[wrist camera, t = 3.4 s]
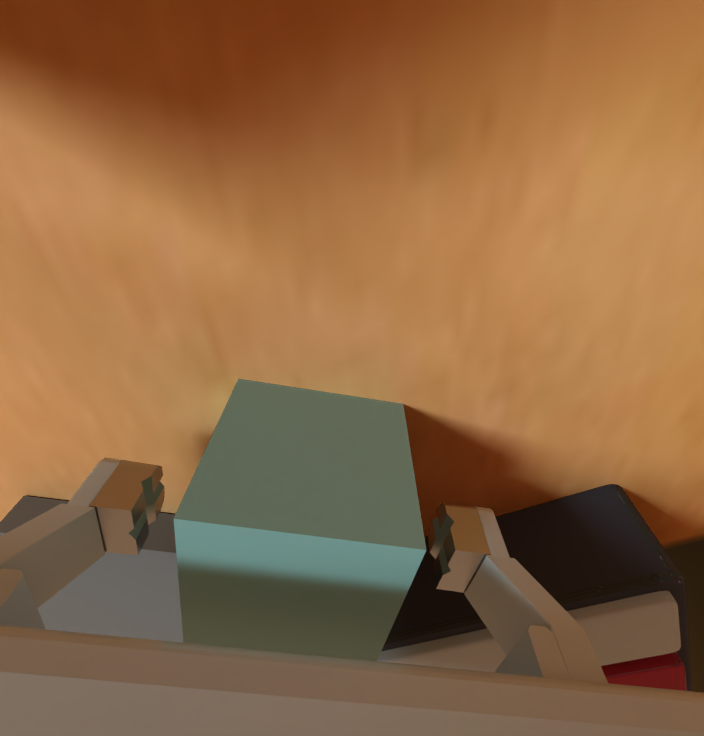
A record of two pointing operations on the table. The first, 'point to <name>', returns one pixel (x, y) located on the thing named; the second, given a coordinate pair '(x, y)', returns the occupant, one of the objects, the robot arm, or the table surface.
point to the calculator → (566, 594)
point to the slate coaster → (115, 585)
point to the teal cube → (299, 525)
